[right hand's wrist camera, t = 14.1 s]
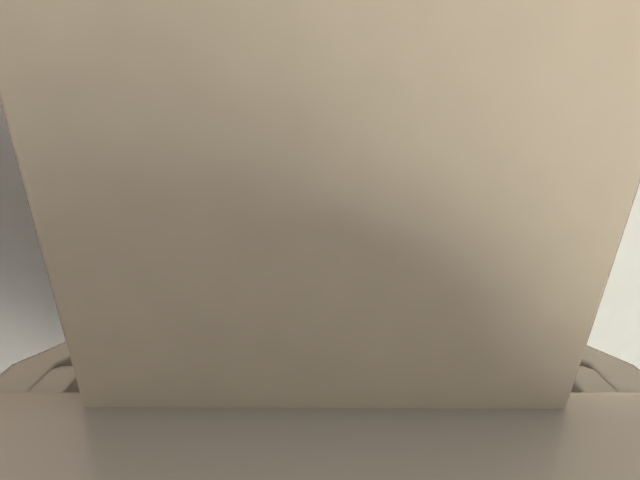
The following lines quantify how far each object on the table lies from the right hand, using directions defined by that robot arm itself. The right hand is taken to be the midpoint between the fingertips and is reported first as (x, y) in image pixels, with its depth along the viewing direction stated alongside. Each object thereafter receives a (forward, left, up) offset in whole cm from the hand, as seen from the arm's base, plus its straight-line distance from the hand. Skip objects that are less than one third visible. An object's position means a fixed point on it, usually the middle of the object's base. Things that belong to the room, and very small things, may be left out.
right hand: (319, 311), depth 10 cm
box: (-1, +10, -4) cm, 10 cm away
